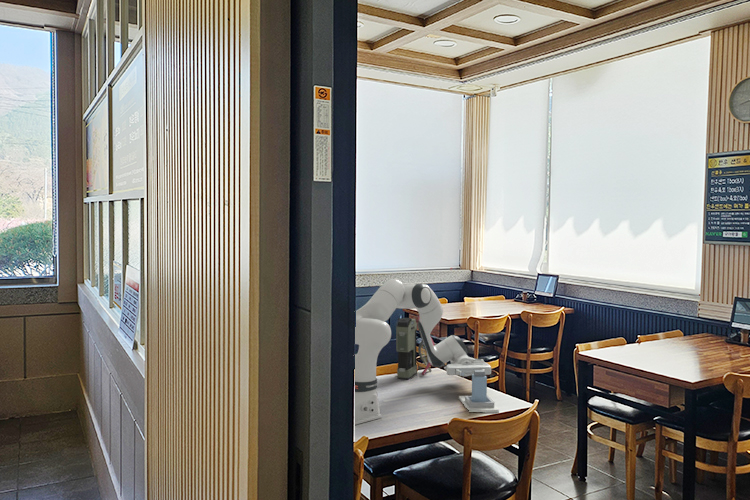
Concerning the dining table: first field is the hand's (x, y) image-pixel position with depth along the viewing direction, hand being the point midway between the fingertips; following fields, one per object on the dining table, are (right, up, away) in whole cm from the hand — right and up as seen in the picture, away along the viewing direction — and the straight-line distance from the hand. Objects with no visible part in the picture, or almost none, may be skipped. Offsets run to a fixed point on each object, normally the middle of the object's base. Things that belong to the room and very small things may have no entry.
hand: (472, 373), depth 252 cm
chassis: (+1, -11, -10) cm, 15 cm away
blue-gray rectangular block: (+1, -10, -12) cm, 16 cm away
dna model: (-16, -9, +44) cm, 48 cm away
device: (-27, -10, +38) cm, 48 cm away
